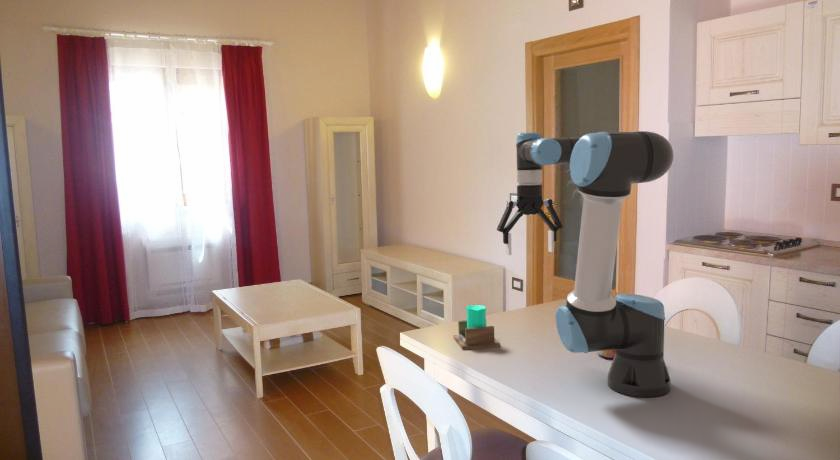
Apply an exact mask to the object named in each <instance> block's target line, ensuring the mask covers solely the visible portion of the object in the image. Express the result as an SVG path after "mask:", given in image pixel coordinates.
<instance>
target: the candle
mask: <svg viewBox="0 0 840 460" xmlns="http://www.w3.org/2000/svg"><path fill="white" fill-rule="evenodd" d="M486 308H487V307H486V306H485V305H481V304H478V305H477V304H475V305H474V304H473V305H466V320H467V328H475V327H487V317H486V315H487V314H486V312H487V311H486V310H487V309H486Z"/></svg>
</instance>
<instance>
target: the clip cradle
mask: <svg viewBox="0 0 840 460" xmlns="http://www.w3.org/2000/svg"><path fill="white" fill-rule="evenodd" d="M457 322H458V334H455V335H453V340H454V341H455V342H456V343H457V345H458V346H459V347H460V348H461V350H473V349H483V348H484V349H486V348H497V346H498V347H501V342H500V341H499V340H497V339H496V338H495V326H494V325H489V326H487V325H486V327H475V328H467V319H465V320H458V321H457Z"/></svg>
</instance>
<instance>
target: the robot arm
mask: <svg viewBox="0 0 840 460" xmlns="http://www.w3.org/2000/svg"><path fill="white" fill-rule="evenodd" d="M515 147H516V183H518V185H516V201H512V200H507V201H506V208H505V209H504V213H503V214H502V217H501V219H500V221H499V223H498V224H497V227H496V231H497V232H501V233H502V242H503V244H504V245H505V249H506V251H505V252H506V255H508V256H512V233H510V232H511V230H512V229H513V227H514V226H515V225H516V224H517V222H518V221H519V220H520V219H521V217H522V216H523V215H525V216H529V215H533V216H534V215H537V216H539V217H540V219H541V220H542V221H543V222H544V223H545V224H546V226H547V227H548V228H549V230H547V246H548V247H547V251H548V253H554V252H555V242H557V239H558V237H557V236H558V235H557V232H558V231H559V230H560V229H563V224H562V222H561V220H560V217H559V216H558V214H557V211H556V210H555V207H554V205H553V202H554V201H553V199H552V198H546V199H544V200H543V185H542V184H541V183H542V182H543V166H551V165H569V171H570V174H569V175H570V178H571V180H572V182H573V184H575V185H576V186H577V192H578V193H579V194H580V195H581V196H582V199H583V201H582V208H581V209H582V210H581V218H580V219H581V220H580V227H579V228H580V230H579V241H578V247H577V248H578V249H577V258H576V269H575V276H574V277H575V279H574V288H573V290H572V291H571V292H569V293H568V294H567V296H566V304H565V305H560V306H559V307H557V309H556V312H555V324H556V325H555V326H556V329H557V333H558V336H559V338H560V341H561V343H562V345H563V347H564V348H565V349H566V350H568V351H569V352H570V353H574V354H580V353H581V354H582V353H584V354H588V353H592V352H593V353H594V352H596V351H605V350H615V356H614V358H612V361H611V365H610V367H609V371H608V373H607V381H606V382H607V386H608V387H609V388H610V389H611V390H613V391H614V392H616V393H619V394H623V395H626V396H630V397H631V396H632V397H639V398H654V397H661V396H664V395H667V394H669V393H670V392H671V389H672V388H671V385H672V383H671V377H670V374H669V371H668V368H667V365H666V362H665V358H664V356H665V355H664V354H665V353H664V351H665V321H666V314H665V307H664V304H663V302H661V300H659V299H656V298H654V297H652V296H646V295H643V294H642V295H641V294H636V293H635V294H634V293H619V294H618V293H617V294H616V295H615V297H613V296H612V290H613V289H612V287H613V281H614V280H613V279H614V273H615V272H614V271H615V263H616V255H617V246H618V240H619V231H620V230H619V229H620V222H621V214H622V206H623V201H624V200H626V199H627V198H628V197H629V196H630V195H631V191H632V190H631V189H632V185H633V184H641V183H649V182H650V183H651V182H654V181H656V180H658V179H660V178H662V177H663V176H664V175H665V174H667V172H668V171H669V170H670V168H671V166H672V165H673V162H674V149H673V147H672V144H671V143H670V141H669V140H668V139H667V138H666V137H664V136H663V135H661V134H659V133H656V132H654V131H645V130H644V131H643V130H641V131H598V132H592V133H591V132H590V133H586V134H584V135H582V136H580V137H543V136H542V133H541V132H539V131H538V132H534V131H533V132H520V133H518V134H516V144H515ZM543 206H544V207H546V209H547V211H548V213H549V215H550V217H551V219H552V220H551V219H550V218H549V217H548V215H547V214H546V213H545V212H544V210H543V209H542V207H543ZM515 207H517V210H516V211H515V213H514V214H513V216H512V217H511V218H510V216H511V215H512V212H513V209H514V208H515ZM509 218H510V220H509ZM508 220H509V221H508Z"/></svg>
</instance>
